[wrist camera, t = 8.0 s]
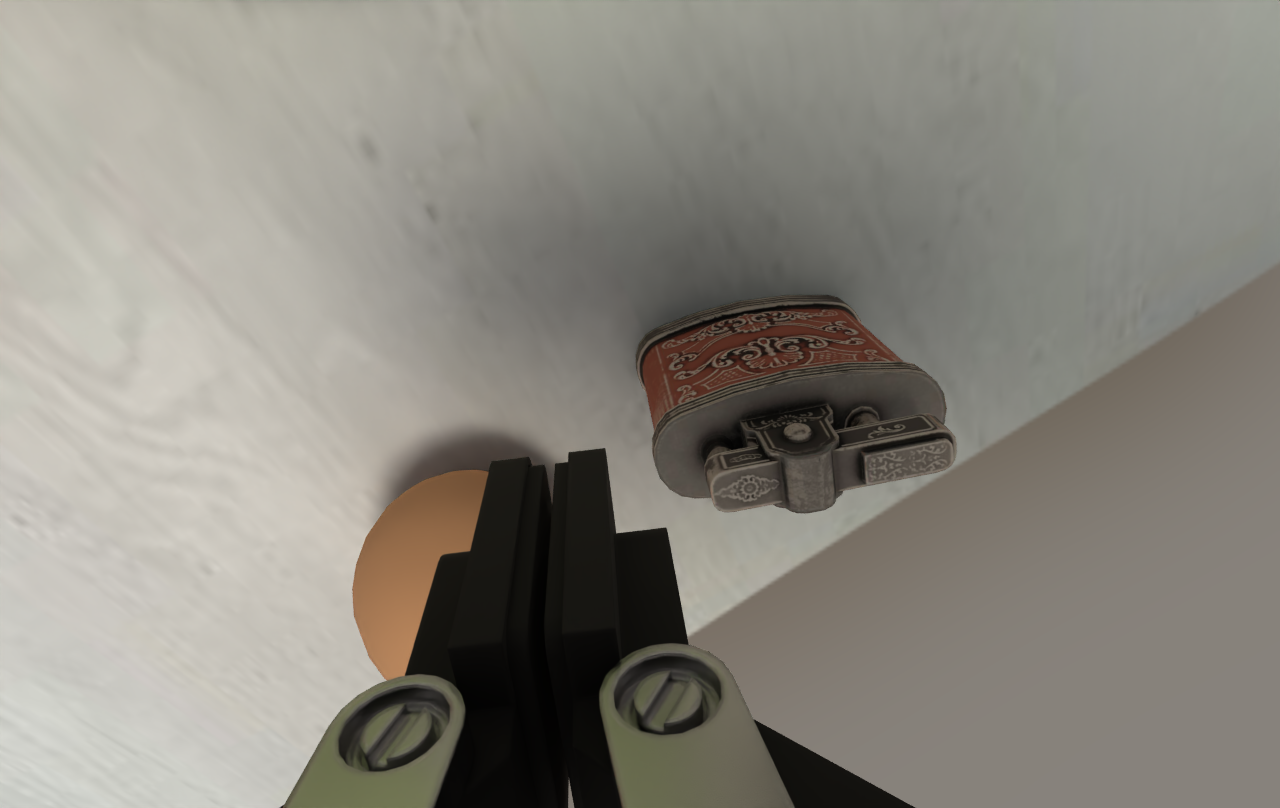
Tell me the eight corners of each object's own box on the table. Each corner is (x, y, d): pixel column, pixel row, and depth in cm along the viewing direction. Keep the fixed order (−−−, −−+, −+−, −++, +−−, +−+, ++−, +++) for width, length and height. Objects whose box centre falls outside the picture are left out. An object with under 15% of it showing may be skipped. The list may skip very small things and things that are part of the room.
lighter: (644, 408, 28) (675, 571, 19) (627, 322, 27) (652, 453, 18) (857, 367, 28) (992, 509, 19) (852, 279, 27) (994, 387, 17)
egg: (458, 394, 27) (410, 523, 19) (615, 502, 30) (628, 656, 22) (348, 532, 29) (263, 699, 21) (503, 623, 31) (478, 804, 24)
